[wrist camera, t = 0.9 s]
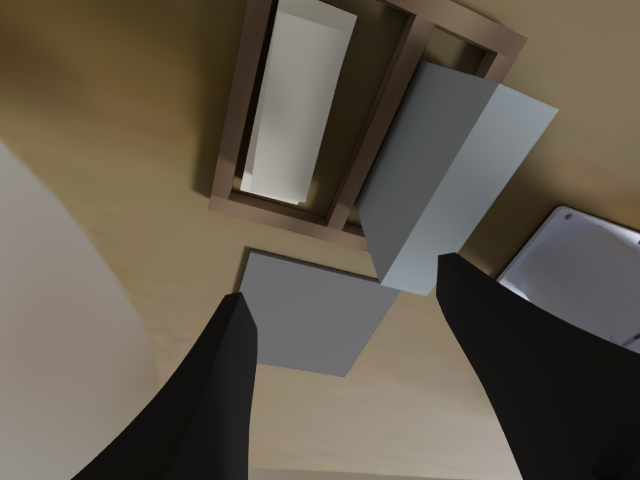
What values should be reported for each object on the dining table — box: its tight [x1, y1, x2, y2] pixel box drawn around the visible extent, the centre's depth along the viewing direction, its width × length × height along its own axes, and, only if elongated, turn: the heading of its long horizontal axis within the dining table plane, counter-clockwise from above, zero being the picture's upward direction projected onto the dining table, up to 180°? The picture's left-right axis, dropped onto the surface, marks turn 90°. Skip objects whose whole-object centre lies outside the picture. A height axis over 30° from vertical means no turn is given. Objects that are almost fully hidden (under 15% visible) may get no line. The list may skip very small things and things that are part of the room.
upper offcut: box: [250, 11, 350, 202], centre depth 16 cm, size 3×8×2 cm, turn 165°
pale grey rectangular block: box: [355, 60, 559, 296], centre depth 16 cm, size 2×9×8 cm, turn 160°
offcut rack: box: [208, 0, 528, 252], centre depth 18 cm, size 13×14×1 cm
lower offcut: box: [240, 0, 357, 205], centre depth 18 cm, size 4×10×2 cm, turn 162°
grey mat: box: [239, 249, 401, 377], centre depth 27 cm, size 12×12×1 cm
